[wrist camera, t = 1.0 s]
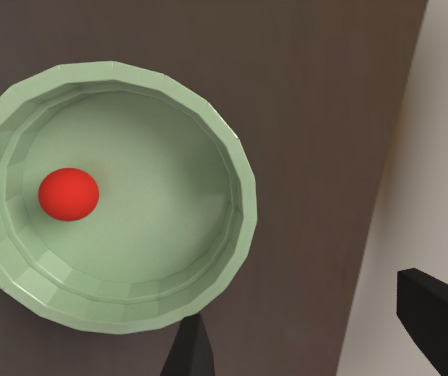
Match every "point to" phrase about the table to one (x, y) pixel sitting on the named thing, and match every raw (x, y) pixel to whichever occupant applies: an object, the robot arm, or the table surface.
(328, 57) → the table surface
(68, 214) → the ball
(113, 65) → the bowl
